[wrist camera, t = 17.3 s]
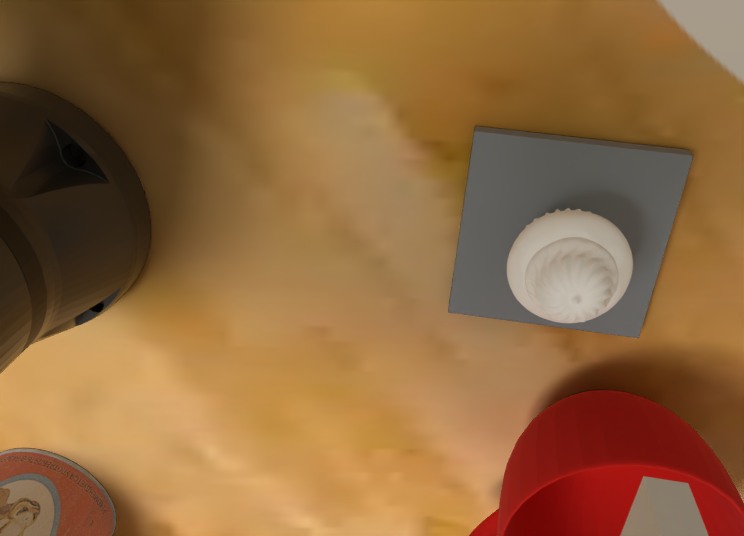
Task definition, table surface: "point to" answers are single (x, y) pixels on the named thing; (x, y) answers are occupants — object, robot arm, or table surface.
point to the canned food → (51, 497)
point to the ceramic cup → (606, 469)
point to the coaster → (561, 191)
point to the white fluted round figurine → (569, 266)
